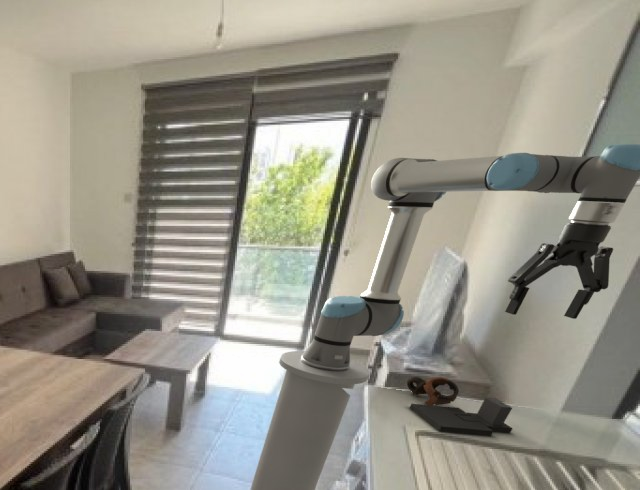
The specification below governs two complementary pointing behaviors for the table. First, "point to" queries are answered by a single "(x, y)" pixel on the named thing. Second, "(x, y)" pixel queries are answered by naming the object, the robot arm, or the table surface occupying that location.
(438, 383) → the brown double ring
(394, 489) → the table surface
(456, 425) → the large pad
